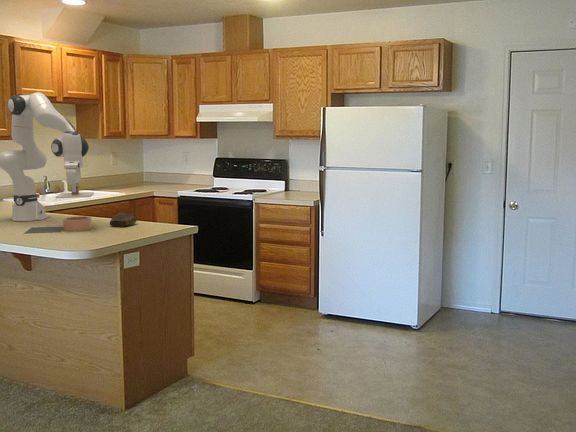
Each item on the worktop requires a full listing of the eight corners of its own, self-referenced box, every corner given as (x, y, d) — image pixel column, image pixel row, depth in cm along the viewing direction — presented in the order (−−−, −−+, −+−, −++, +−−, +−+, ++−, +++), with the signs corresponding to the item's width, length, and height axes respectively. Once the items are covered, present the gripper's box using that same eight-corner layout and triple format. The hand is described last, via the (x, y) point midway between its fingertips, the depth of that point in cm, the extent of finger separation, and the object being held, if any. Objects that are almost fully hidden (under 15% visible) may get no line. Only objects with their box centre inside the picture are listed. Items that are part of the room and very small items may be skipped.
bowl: (66, 228, 332) (66, 216, 331) (92, 227, 334) (92, 216, 333) (62, 232, 319) (61, 220, 318) (89, 231, 321) (89, 219, 321)
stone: (107, 227, 336) (107, 216, 334) (121, 221, 349) (121, 211, 347) (125, 229, 333) (124, 218, 332) (138, 223, 346) (138, 212, 345)
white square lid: (61, 195, 330) (60, 185, 330) (93, 194, 333) (93, 184, 332) (55, 198, 315) (55, 188, 314) (89, 197, 317) (89, 187, 317)
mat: (31, 228, 332) (31, 227, 332) (66, 227, 335) (66, 226, 335) (23, 234, 313) (23, 233, 313) (59, 233, 316) (59, 232, 316)
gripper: (70, 163, 331) (71, 189, 333) (63, 165, 311) (65, 193, 313) (83, 162, 332) (84, 189, 334) (76, 165, 312) (78, 193, 314)
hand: (75, 191), depth 324 cm, fingers closed on white square lid, 3 cm apart
